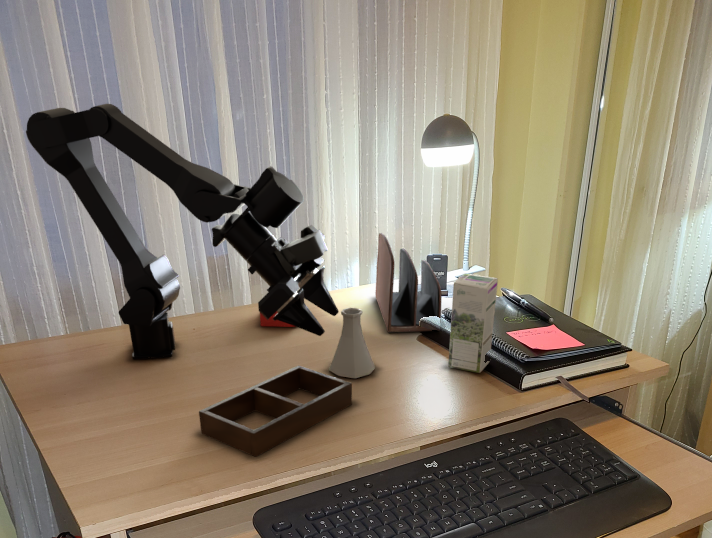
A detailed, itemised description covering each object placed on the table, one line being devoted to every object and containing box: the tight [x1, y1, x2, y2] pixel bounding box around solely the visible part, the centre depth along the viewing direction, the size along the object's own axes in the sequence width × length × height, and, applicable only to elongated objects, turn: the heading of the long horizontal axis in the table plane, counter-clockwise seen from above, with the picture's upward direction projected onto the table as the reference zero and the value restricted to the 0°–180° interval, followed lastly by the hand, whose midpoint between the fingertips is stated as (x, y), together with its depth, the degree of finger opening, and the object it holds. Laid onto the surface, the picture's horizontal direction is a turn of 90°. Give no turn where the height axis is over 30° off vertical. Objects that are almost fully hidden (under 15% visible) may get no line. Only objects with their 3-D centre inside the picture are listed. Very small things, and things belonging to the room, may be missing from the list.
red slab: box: [259, 311, 297, 328], centre depth 144 cm, size 8×7×6 cm
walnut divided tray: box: [198, 365, 353, 458], centre depth 110 cm, size 11×20×4 cm, turn 143°
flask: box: [328, 307, 376, 379], centre depth 123 cm, size 7×7×10 cm
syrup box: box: [447, 273, 499, 374], centre depth 125 cm, size 6×6×14 cm
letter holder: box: [374, 232, 442, 334], centre depth 145 cm, size 10×20×14 cm, turn 7°
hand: (329, 323), depth 122 cm, fingers open, 9 cm apart
